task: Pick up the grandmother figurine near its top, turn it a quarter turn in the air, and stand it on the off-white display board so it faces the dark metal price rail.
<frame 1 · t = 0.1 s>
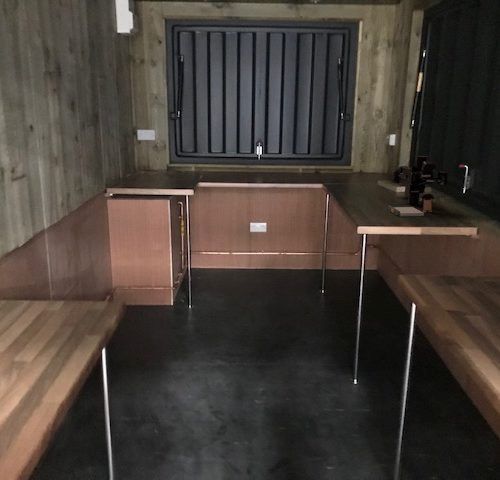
hand: (435, 180, 250), 17 cm above the table, tool horizontal, fingers open, 9 cm apart
display board: (405, 213, 257), on the table
grandmother figurine: (426, 211, 260), on the table
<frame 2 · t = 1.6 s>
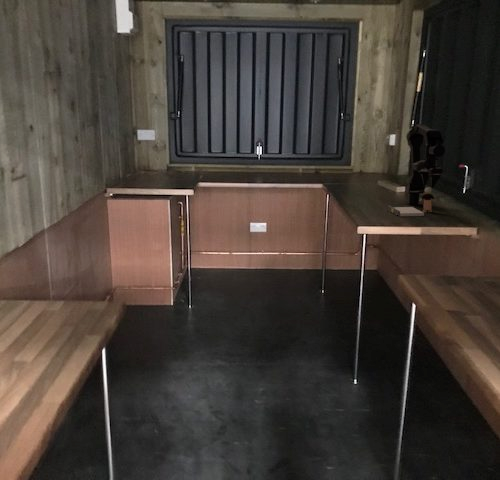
hand: (428, 186, 256), 13 cm above the table, tool pointing down, fingers open, 9 cm apart
nothing on the table moved.
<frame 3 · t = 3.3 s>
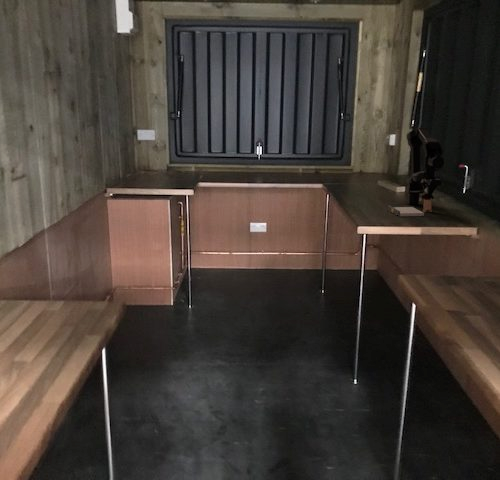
hand: (427, 197, 258), 8 cm above the table, tool pointing down, fingers closed on grandmother figurine, 3 cm apart
grandmother figurine: (426, 211, 260), on the table, touching gripper
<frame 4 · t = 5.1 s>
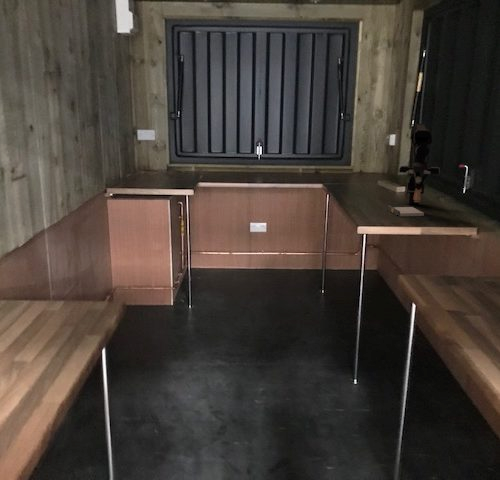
hand: (418, 187, 254), 13 cm above the table, tool pointing down, fingers closed on grandmother figurine, 3 cm apart
grandmother figurine: (417, 202, 256), point 5 cm above the table, touching gripper
when the fingers open (10 cm above the table, at t = 6.8 s): grandmother figurine drops 1 cm, resting on display board.
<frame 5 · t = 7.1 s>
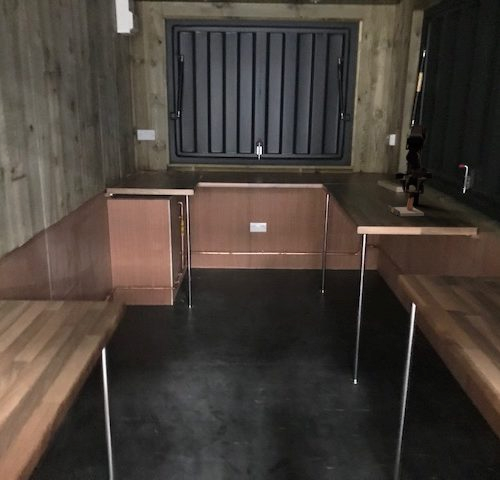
hand: (411, 192, 254), 10 cm above the table, tool pointing down, fingers open, 7 cm apart
grandmother figurine: (410, 210, 256), point 1 cm above the table, touching display board
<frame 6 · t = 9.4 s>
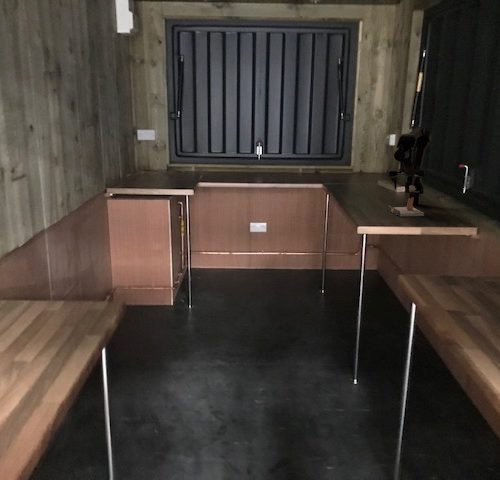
hand: (404, 189, 263), 10 cm above the table, tool pointing down, fingers open, 9 cm apart
nothing on the table moved.
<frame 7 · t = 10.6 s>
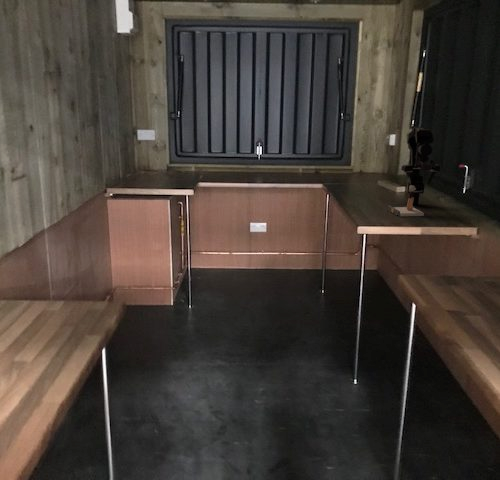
hand: (419, 184, 262), 13 cm above the table, tool pointing down, fingers open, 9 cm apart
nothing on the table moved.
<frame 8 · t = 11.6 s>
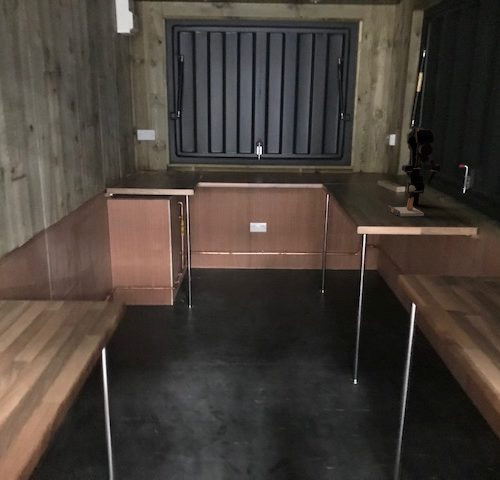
hand: (419, 184, 262), 13 cm above the table, tool pointing down, fingers open, 9 cm apart
nothing on the table moved.
at the end: grandmother figurine inside the target area on the display board (2.4 cm from its centre), point 1.3 cm above the display board's base; grandmother figurine tilted 0°; the gripper is holding nothing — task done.
